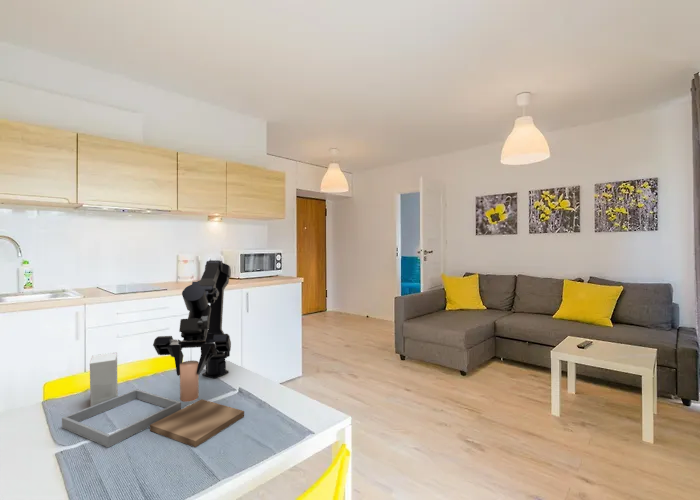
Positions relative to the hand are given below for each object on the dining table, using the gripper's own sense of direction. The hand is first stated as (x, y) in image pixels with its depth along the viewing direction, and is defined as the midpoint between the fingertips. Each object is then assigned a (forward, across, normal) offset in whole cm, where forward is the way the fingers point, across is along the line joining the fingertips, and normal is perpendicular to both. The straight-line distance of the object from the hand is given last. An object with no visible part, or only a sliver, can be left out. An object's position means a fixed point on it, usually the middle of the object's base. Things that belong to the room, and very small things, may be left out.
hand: (188, 374), depth 90 cm
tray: (+5, -18, +14) cm, 23 cm away
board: (+9, +2, +10) cm, 14 cm away
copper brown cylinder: (+4, 0, +6) cm, 7 cm away
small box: (-4, -28, +24) cm, 37 cm away
